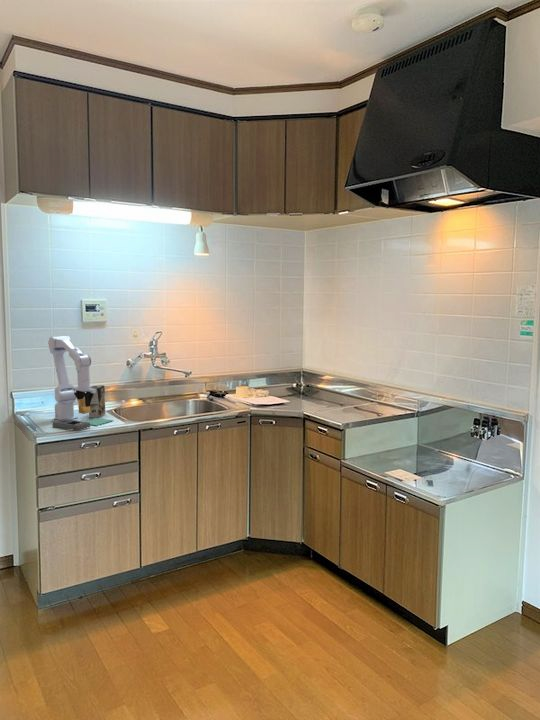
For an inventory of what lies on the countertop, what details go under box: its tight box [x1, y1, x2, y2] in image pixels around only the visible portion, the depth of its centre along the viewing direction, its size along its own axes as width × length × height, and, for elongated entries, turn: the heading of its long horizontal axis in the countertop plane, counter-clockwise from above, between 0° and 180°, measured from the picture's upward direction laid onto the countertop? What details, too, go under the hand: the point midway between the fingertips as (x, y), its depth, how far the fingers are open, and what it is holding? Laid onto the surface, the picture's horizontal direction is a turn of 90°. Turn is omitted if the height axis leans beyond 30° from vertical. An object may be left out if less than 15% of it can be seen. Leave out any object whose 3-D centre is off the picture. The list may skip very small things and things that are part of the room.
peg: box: [77, 398, 91, 415], centre depth 277 cm, size 4×4×7 cm
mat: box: [82, 417, 114, 427], centre depth 283 cm, size 12×12×1 cm
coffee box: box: [88, 385, 106, 418], centre depth 298 cm, size 9×6×16 cm
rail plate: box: [52, 419, 91, 431], centre depth 273 cm, size 17×8×3 cm, turn 63°
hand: (84, 405), depth 277 cm, fingers closed on peg, 4 cm apart
